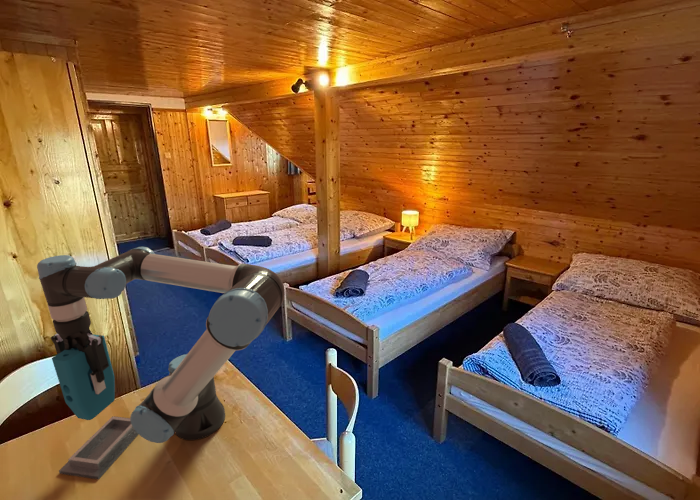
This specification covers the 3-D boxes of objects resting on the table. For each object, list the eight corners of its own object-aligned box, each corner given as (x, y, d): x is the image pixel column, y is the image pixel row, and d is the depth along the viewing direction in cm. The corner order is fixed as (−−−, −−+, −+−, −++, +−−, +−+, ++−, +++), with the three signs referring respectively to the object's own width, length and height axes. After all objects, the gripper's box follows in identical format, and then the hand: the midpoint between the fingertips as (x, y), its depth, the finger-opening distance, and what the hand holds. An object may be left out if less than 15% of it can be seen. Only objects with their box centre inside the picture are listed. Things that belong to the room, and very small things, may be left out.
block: (85, 425, 99) (65, 361, 92) (69, 422, 100) (49, 358, 93) (120, 395, 110) (106, 336, 103) (106, 392, 111) (91, 334, 104)
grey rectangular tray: (148, 422, 117) (146, 415, 117) (98, 479, 99) (96, 470, 98) (114, 418, 119) (112, 411, 118) (59, 473, 101) (56, 465, 100)
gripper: (113, 310, 97) (130, 384, 105) (52, 306, 100) (74, 378, 108) (89, 324, 90) (110, 402, 98) (25, 319, 93) (50, 395, 101)
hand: (91, 389), depth 103 cm, fingers closed on block, 5 cm apart
